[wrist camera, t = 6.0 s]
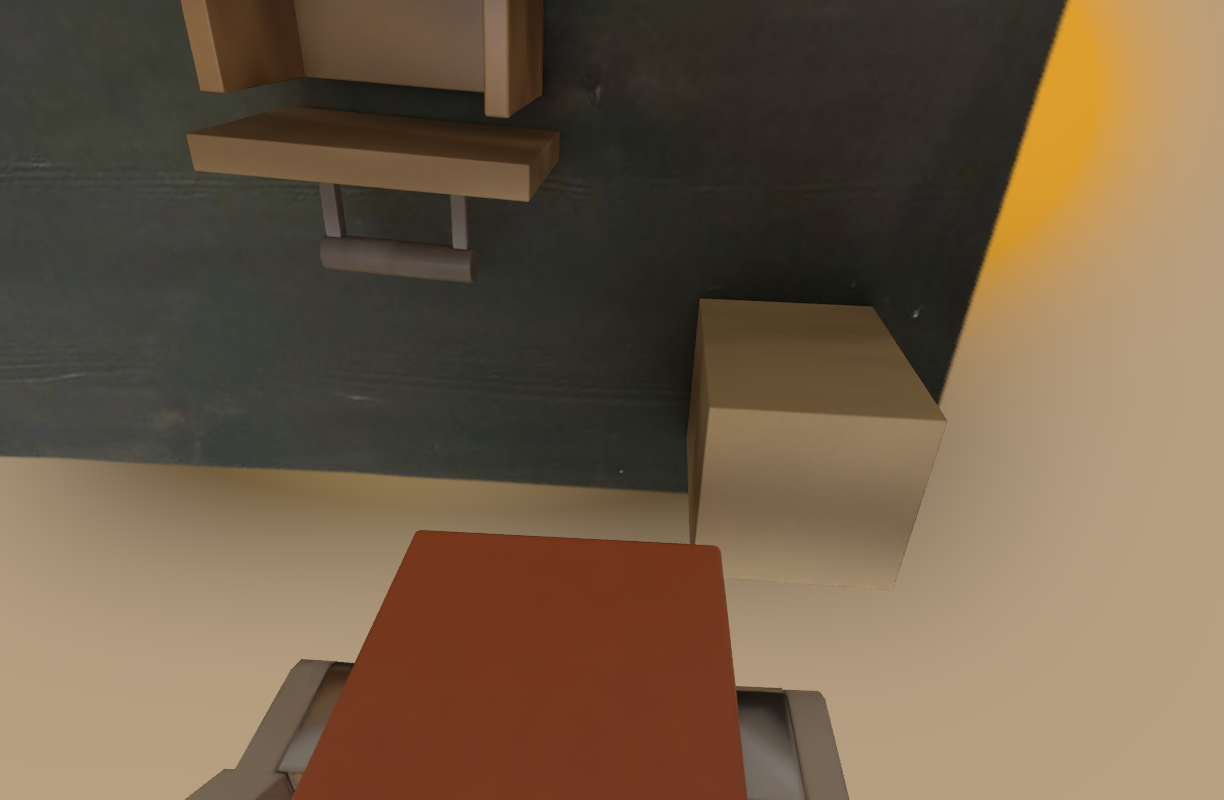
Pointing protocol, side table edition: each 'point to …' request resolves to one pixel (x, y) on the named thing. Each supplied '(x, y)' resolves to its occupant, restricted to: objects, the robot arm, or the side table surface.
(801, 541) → the stand
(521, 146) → the drawer
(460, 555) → the block
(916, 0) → the side table surface
